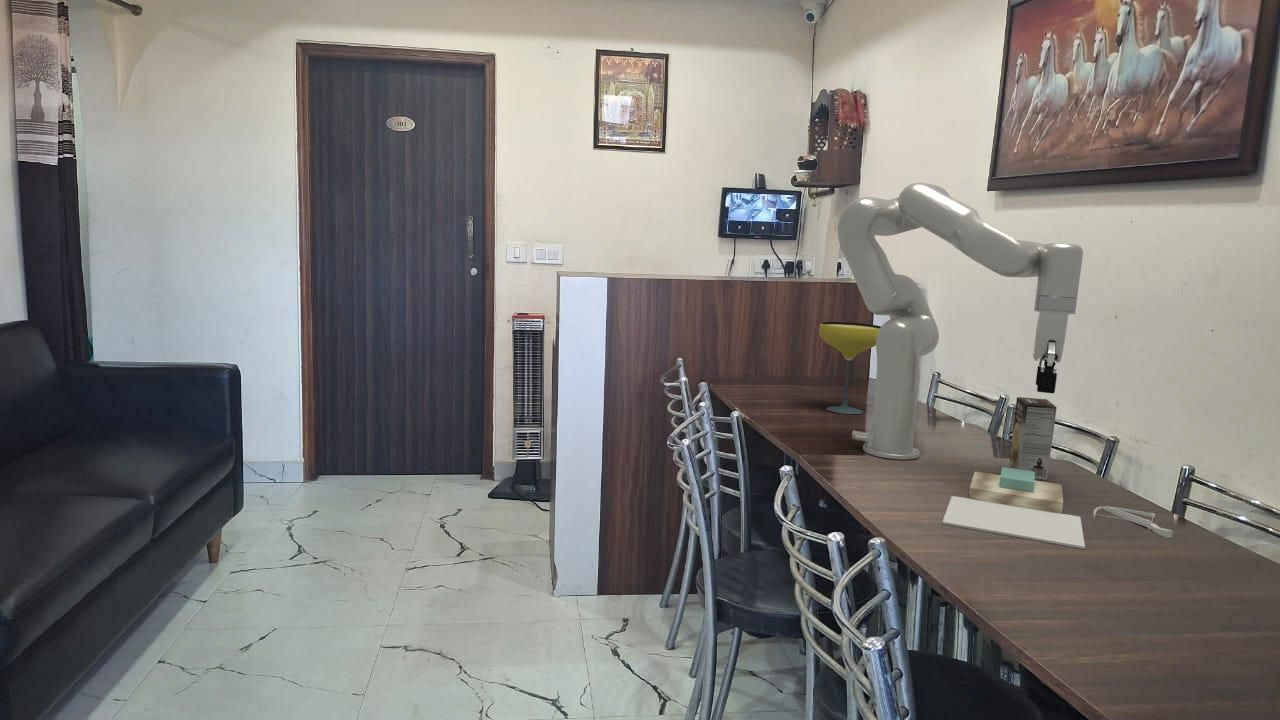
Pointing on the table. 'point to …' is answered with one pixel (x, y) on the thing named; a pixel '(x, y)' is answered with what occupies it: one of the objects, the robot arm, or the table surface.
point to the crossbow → (1136, 519)
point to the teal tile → (1017, 479)
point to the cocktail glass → (848, 347)
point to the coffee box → (1032, 436)
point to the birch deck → (1017, 493)
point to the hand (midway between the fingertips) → (1044, 389)
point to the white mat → (1015, 521)
